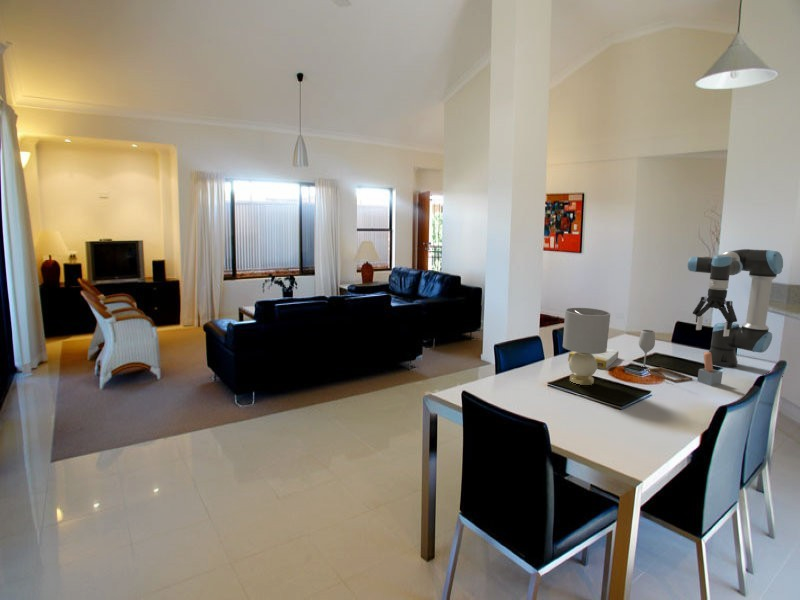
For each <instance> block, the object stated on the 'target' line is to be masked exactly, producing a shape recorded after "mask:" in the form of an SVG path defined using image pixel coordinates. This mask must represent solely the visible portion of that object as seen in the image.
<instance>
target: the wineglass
mask: <svg viewBox="0 0 800 600" xmlns="http://www.w3.org/2000/svg"><path fill="white" fill-rule="evenodd" d="M655 345H656V334H655V331H654V330H651V329H641V332H640V336H639V340H638V346H639V348H640V350H641V351H643V352H644V358H643V365H642V366H643V367H647V366H646V361H647V360H646V359H647V353H649V352H650V351H652V350H653V349H654V347H655Z"/></svg>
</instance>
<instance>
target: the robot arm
mask: <svg viewBox="0 0 800 600" xmlns="http://www.w3.org/2000/svg"><path fill="white" fill-rule="evenodd" d="M783 267H784V258H783V256H782V254H781V252H779V251H776V250H770V249H768V250H766V249H749V248H744V249H743V248H742V249H737V250H736V249H735V250H729V251H726V252H724V253H722V254H714V255H708V256H703V257H702V256H701V257H700V256H691V257H690V258H688V260H687V270H688V271H689V272H693V273H705V274H709V283H708V289H707V296H701V297H700V300H699V302H698V304H697V305H696V306H695V308H694V309H693V311H692V314H693V315H694V316H695V323H696V326H695V330H696V331H701V330H702V328H703V327H702V326H703V318H704V316H703V315H704V314H705V313H706V312H707V311H708V310H709V309H716V310H719V311H720V313H721V314H722V316H723V318H724V319H725V321H726V322H718V323H715V324H714V325H713V328H712V335H711V342H710V349H709V351H708V352H711V355H712V365H713V366H718V367H723V368H724V367H725V368H735V367H737V366H738V362H739V361H738V358H737V353H736V349H739V350H745V351H750V352H753V353H759V354H760V353H761V354H762V353H765V352H767V350H768V349H769V347H770V346H771V343H772V341H773V333H772V332H771V331H769V327H768V325H766V324H767V318H768V311H769V306H770V305H769V304H770V297H771V291H772V283H773V280H774V279H776V278H777V277H778V276H777V275H780V274H781V273H782V272H783ZM742 271H744V272H749V273H748V275H749V277H750V278H751V285H750V290H749V299H748V306H747V311H746V312H747V313H746V319H745V322H744V323H743V324H741V327H740V324H739V323H737V322H738V318H737V315H736V313H735V309H734V307H733V306H734V305H733V301H732V300H726V298H727V295H728V290H727V289H728V288H729V280H730V276H735V275H738V274H740V273H741V272H742ZM706 302H707V303H706Z"/></svg>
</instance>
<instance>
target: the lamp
mask: <svg viewBox="0 0 800 600" xmlns="http://www.w3.org/2000/svg"><path fill="white" fill-rule="evenodd" d="M610 322H611V313H610V311H606V310H603V309H598V308H597V309H596V308H590V307H568V308H565V311H564V323H563V324H564V325H563V337H562V339H563V340H562V348H563V349H565V350H568V351H571V352H573V351H574V352H576V353H574V354H573V355H572V356H571V358H570V360H569V361H568V368H569V370H570V373H572V374H570V375H569V382H570V381H571V382H573V383H576V384H580V385H591V386H593V385H594V382H595V381H594V380H595V378H594V377H593V375H594V374H595V373H596V372H597V369H598V368H597V361H596V359H595V357H594V356H593V355H592V354H600V353H604V352H606V351H607V349H608V339H609V330H610ZM571 382H570V383H571ZM573 383H572V384H573ZM576 384H575V385H576ZM592 384H593V385H592ZM580 385H579V386H580Z"/></svg>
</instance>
